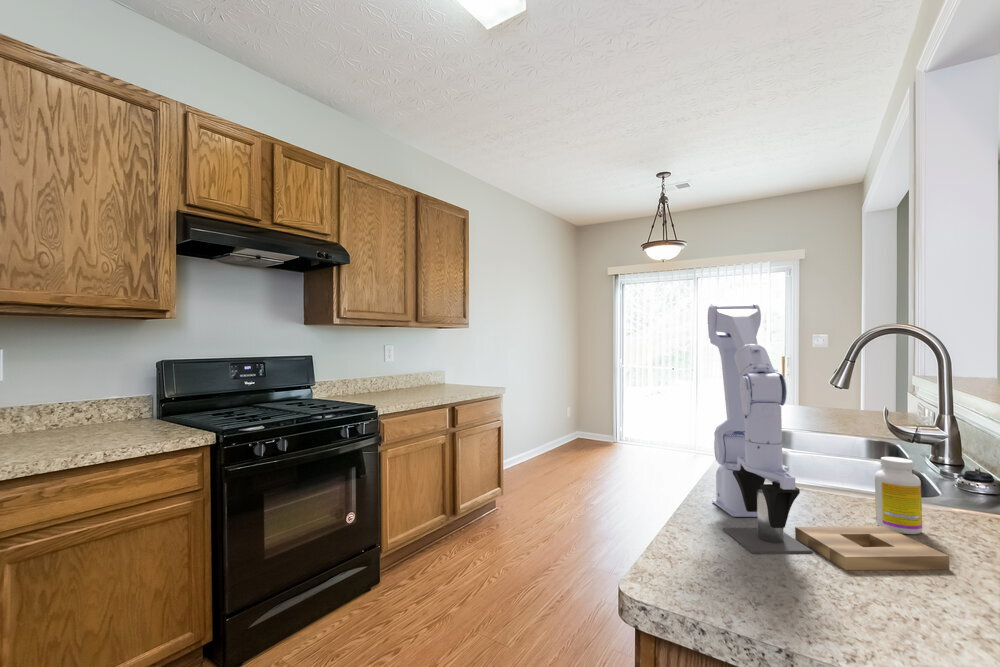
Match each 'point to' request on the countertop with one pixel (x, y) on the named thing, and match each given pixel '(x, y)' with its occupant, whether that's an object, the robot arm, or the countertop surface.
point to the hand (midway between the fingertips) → (764, 518)
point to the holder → (871, 548)
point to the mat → (756, 545)
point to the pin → (766, 522)
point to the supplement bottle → (898, 496)
